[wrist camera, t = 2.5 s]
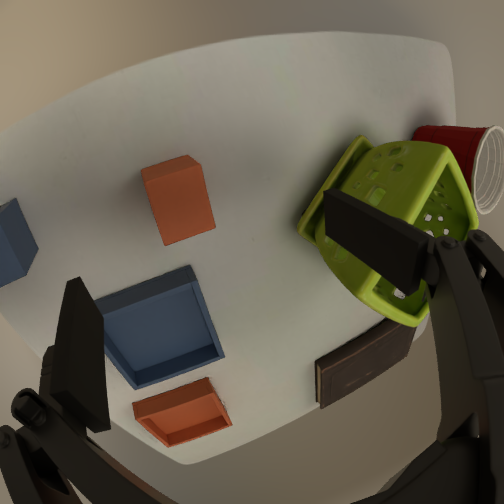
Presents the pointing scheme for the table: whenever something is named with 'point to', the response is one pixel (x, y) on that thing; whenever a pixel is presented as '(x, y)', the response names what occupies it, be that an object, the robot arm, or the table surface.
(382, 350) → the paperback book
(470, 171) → the plastic cup
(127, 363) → the blue tray
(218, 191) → the table surface
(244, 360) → the table surface
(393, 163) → the flower pot
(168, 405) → the terracotta tray
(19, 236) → the blue block
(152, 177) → the terracotta block
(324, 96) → the table surface
